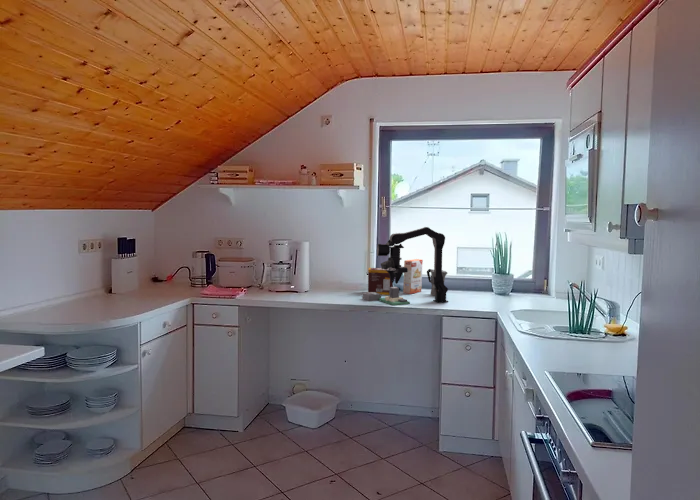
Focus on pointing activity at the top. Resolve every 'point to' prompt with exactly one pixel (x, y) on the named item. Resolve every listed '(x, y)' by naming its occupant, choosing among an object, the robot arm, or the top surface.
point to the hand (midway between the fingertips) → (394, 283)
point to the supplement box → (379, 281)
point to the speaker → (371, 296)
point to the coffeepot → (430, 280)
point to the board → (394, 300)
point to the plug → (394, 292)
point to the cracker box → (413, 276)
